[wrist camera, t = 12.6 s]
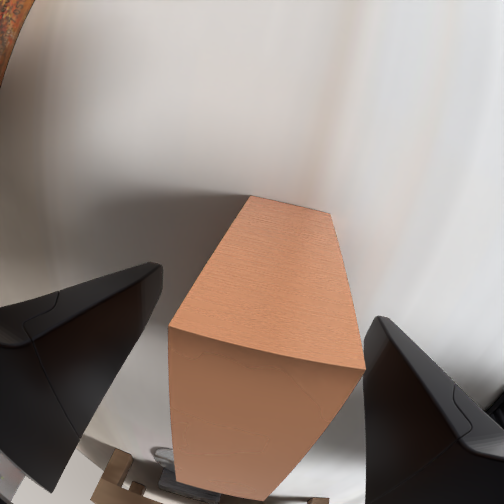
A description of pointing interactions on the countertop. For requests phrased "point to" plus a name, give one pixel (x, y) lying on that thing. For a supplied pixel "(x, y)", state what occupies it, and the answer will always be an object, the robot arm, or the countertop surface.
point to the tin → (10, 27)
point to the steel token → (165, 458)
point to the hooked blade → (260, 354)
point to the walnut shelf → (121, 500)
